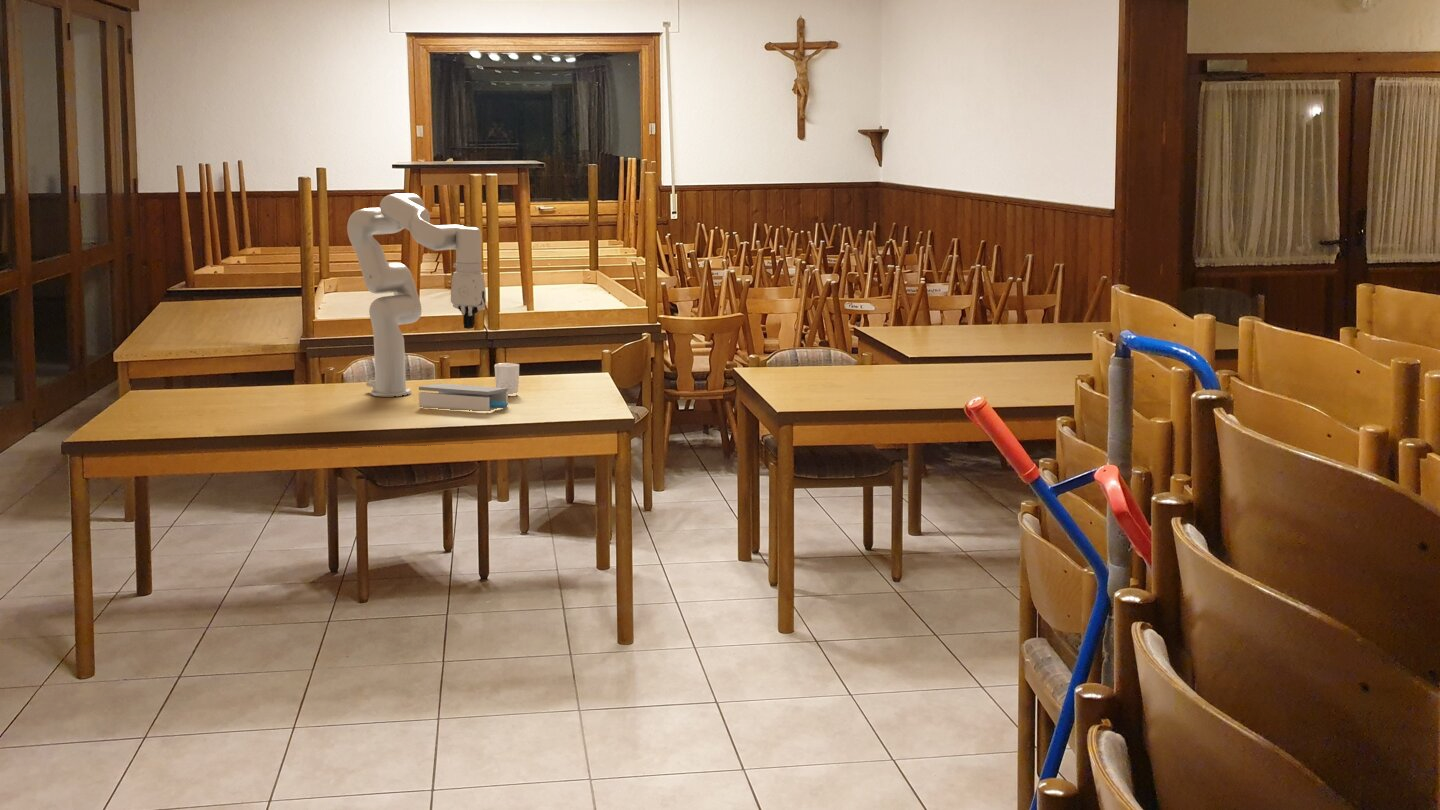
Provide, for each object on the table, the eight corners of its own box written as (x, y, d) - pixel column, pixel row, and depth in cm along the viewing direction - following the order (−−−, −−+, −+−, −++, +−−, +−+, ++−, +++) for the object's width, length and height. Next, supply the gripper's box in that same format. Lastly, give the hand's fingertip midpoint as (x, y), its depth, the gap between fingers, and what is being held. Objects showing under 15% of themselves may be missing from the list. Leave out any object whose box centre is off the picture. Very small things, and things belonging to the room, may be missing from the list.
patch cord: (422, 402, 440) (422, 396, 440) (426, 401, 442) (426, 395, 442) (505, 408, 430) (504, 402, 430) (508, 407, 432) (508, 401, 432)
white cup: (502, 392, 464) (501, 362, 462) (524, 394, 462) (523, 363, 460) (490, 396, 457) (489, 365, 455) (512, 398, 454) (512, 367, 452)
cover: (418, 389, 434) (418, 386, 434) (440, 386, 445) (440, 383, 445) (487, 395, 426) (487, 391, 426) (507, 391, 437) (507, 388, 437)
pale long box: (419, 408, 435) (418, 392, 434) (440, 402, 446) (440, 386, 445) (488, 414, 427) (487, 397, 426) (508, 407, 438) (507, 391, 437)
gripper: (440, 267, 432) (441, 327, 436) (483, 270, 427) (483, 331, 430) (454, 265, 439) (454, 324, 443) (496, 268, 434) (496, 328, 437)
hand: (469, 327), depth 436 cm, fingers closed
